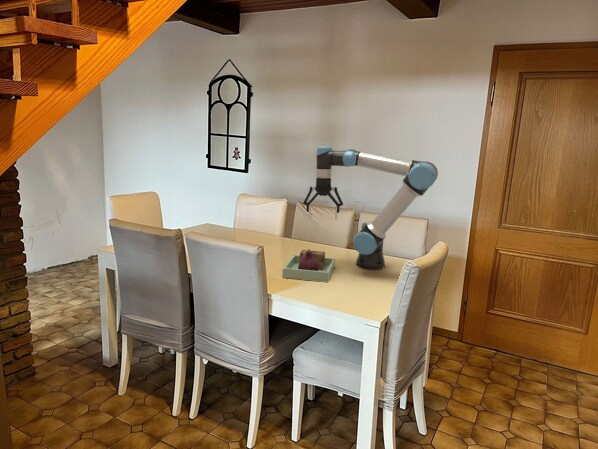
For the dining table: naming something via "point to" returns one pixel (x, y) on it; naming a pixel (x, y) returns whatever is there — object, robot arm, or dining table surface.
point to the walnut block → (316, 258)
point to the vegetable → (308, 262)
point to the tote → (294, 272)
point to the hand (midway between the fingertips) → (322, 218)
